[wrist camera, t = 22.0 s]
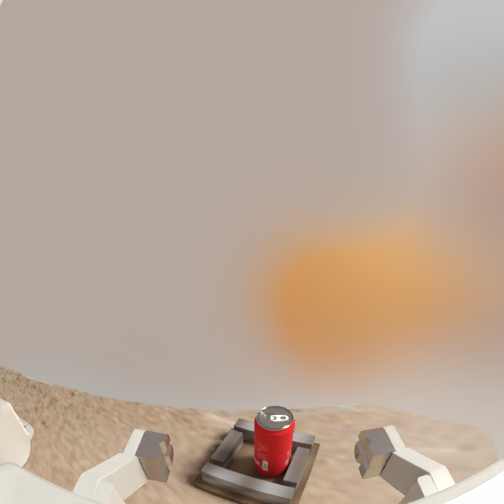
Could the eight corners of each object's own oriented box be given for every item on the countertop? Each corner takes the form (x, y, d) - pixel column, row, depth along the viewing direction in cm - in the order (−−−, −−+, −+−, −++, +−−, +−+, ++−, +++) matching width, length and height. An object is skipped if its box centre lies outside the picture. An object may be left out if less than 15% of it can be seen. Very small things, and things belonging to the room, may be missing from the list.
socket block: (194, 485, 31) (190, 472, 30) (236, 428, 45) (236, 413, 44) (292, 516, 25) (295, 506, 25) (318, 447, 39) (322, 433, 38)
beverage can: (254, 455, 37) (254, 404, 35) (286, 454, 37) (293, 404, 35) (253, 479, 32) (254, 431, 30) (289, 478, 32) (297, 430, 29)
